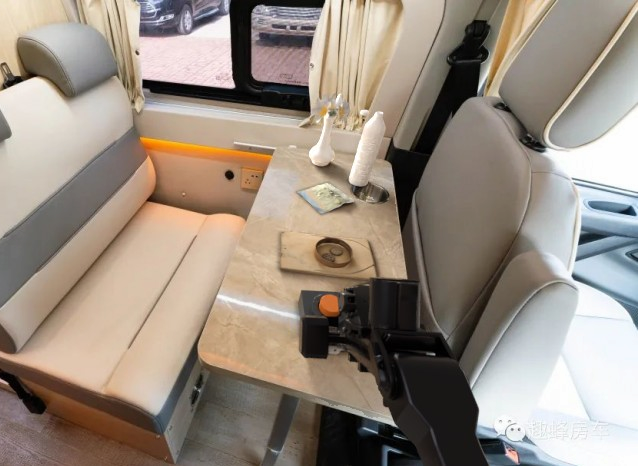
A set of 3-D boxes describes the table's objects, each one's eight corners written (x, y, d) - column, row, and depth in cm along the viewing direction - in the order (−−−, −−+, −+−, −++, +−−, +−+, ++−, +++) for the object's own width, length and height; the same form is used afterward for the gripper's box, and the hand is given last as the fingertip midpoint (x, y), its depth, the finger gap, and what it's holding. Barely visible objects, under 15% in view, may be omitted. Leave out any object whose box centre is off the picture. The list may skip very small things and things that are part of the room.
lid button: (342, 318, 67) (344, 312, 66) (320, 317, 67) (322, 311, 66) (338, 300, 70) (340, 294, 69) (317, 299, 71) (319, 293, 69)
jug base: (351, 352, 69) (361, 334, 64) (303, 349, 69) (309, 331, 64) (340, 305, 77) (347, 286, 73) (297, 302, 78) (302, 284, 73)
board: (368, 240, 94) (372, 232, 92) (379, 281, 83) (383, 273, 80) (280, 232, 97) (282, 224, 94) (279, 271, 85) (281, 262, 83)
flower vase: (338, 153, 132) (355, 89, 115) (334, 176, 119) (351, 107, 103) (306, 148, 136) (317, 85, 119) (298, 170, 123) (309, 102, 106)
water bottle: (366, 178, 118) (389, 109, 102) (368, 187, 114) (392, 117, 97) (341, 175, 120) (360, 106, 103) (342, 184, 115) (361, 114, 99)
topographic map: (328, 182, 116) (329, 178, 115) (355, 202, 107) (356, 198, 106) (296, 193, 113) (296, 189, 112) (321, 214, 103) (321, 210, 102)
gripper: (455, 296, 43) (398, 284, 59) (312, 289, 44) (293, 279, 60) (454, 382, 43) (397, 347, 58) (309, 373, 44) (291, 341, 59)
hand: (344, 327), depth 59 cm, fingers open, 5 cm apart
